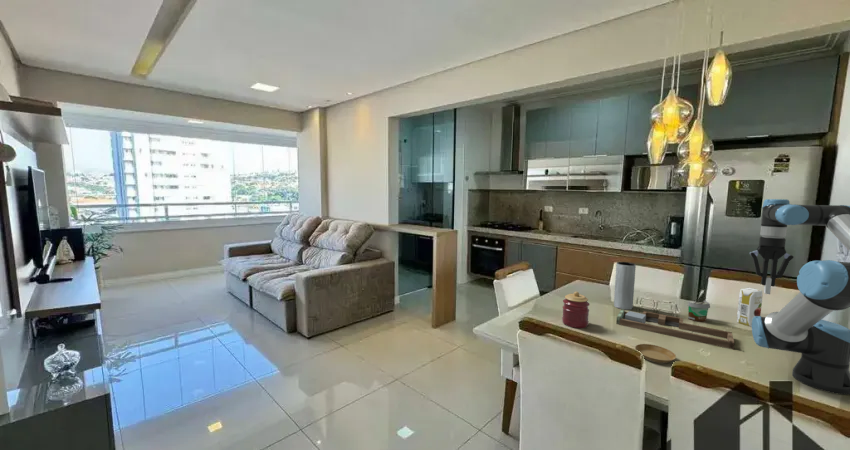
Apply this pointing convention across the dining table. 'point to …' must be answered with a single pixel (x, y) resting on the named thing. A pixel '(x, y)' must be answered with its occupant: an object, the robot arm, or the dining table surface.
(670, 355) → the plant saucer
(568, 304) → the canister
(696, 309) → the food container
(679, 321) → the track
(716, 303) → the dining table surface
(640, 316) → the grey block
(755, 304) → the juice carton
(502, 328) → the dining table surface
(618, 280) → the vase
